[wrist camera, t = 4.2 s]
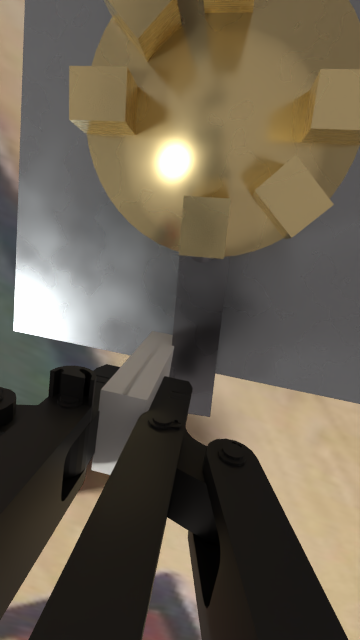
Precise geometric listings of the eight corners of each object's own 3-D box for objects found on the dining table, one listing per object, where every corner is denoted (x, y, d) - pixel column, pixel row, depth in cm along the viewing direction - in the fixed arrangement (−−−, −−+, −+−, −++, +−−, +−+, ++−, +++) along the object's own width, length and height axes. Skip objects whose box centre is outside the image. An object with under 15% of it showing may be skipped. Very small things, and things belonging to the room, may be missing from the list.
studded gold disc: (118, 12, 13) (69, -97, 9) (361, 9, 12) (432, -118, 8) (105, 375, 17) (67, 412, 13) (289, 401, 16) (311, 453, 12)
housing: (77, -75, 16) (28, -182, 12) (497, -54, 14) (605, -177, 10) (52, 316, 21) (11, 331, 17) (356, 378, 19) (391, 411, 15)
